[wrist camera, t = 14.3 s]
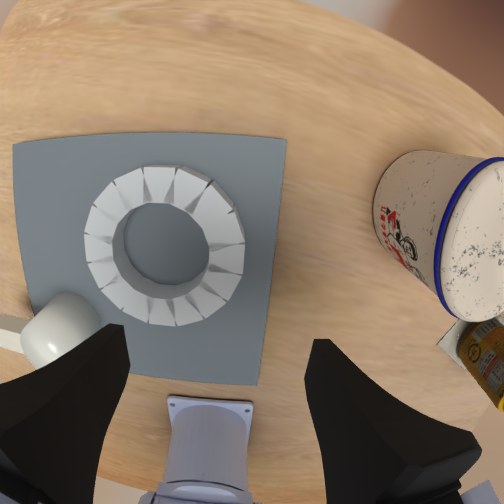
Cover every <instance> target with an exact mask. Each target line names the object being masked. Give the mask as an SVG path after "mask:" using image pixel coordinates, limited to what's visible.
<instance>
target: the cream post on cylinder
mask: <svg viewBox="0 0 504 504" xmlns="http://www.w3.org/2000/svg"><path fill="white" fill-rule="evenodd" d="M100 329H101V322H100V319H99V316H98V314H97V313H96V311H95V309H94V308H93V307H92V306H91V305H90V303H89V302H87V301H86V300H85V299H84V298H82V297H81V296H79V295H77V294H74V293H71V292H62V293H59V294H57V295H56V296H55V297H54V298H53V299H52V300H51V301H50V302H49V303H48V304H47V305H46V306H45V307H44V308H43V309H42V310H41V311H40V312H39V313H38V314H37V315H36V316H35V317H34V318H33V319H32V320H30V319H25V318H21V317H16V316H12V315H8V314H4V313H2V314H1V315H0V347H3V348H6V349H9V350H12V351H15V352H18V353H22V354H25V355H26V357H27V359H28V360H29V361H30V363H31V364H32V365H33V366H34V367H35V368H36V369H39V368H41V367H43V366H45V365H47V364H49V363H51V362H52V361H54V360H56V359H57V358H59V357H60V356H62V355H64V354H65V353H67V352H68V351H70V350H71V349H73V348H74V347H76V346H77V345H79V344H80V343H82V342H83V341H84V340H86V339H87V338H89V337H90V336H91V335H93V334H94V333H96V332H97V331H98V330H100Z"/></svg>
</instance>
